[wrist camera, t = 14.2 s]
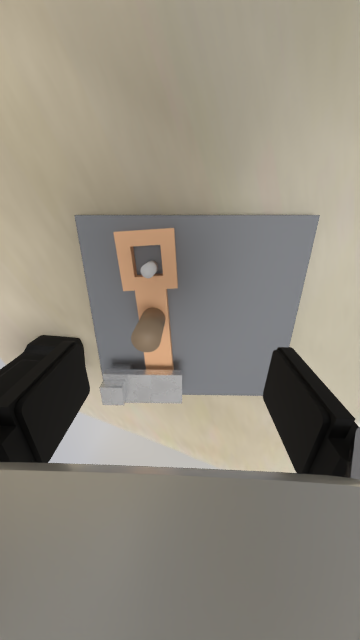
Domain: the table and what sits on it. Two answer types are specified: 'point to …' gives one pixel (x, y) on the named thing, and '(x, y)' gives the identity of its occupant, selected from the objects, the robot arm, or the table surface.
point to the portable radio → (30, 360)
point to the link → (150, 293)
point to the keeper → (140, 385)
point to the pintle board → (204, 293)
